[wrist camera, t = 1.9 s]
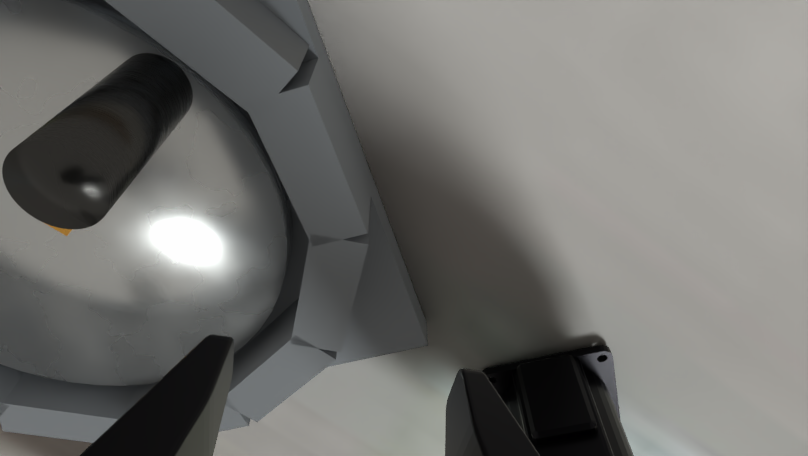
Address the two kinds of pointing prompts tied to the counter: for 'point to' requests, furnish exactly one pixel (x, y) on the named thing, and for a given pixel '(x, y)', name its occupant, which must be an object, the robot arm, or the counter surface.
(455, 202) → the counter surface
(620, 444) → the robot arm
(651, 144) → the counter surface
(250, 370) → the grey round platform
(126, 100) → the dial
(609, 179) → the counter surface
